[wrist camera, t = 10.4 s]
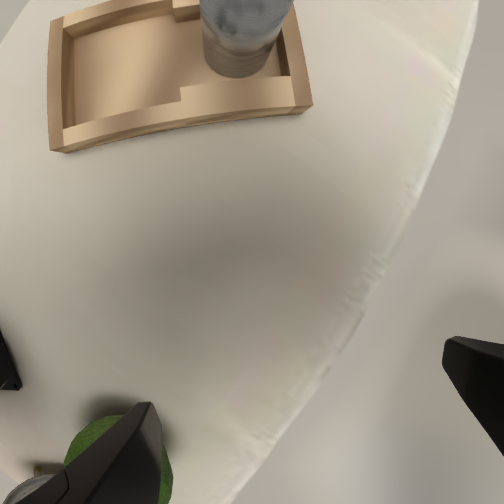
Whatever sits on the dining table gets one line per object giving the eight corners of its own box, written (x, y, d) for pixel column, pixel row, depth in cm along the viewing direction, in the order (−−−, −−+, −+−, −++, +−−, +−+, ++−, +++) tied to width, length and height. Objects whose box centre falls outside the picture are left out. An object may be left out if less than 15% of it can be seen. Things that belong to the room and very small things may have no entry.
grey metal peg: (206, 81, 17) (201, 17, 9) (200, 27, 16) (195, -51, 9) (273, 76, 18) (307, 13, 10) (264, 22, 17) (290, -53, 9)
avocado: (75, 434, 22) (33, 536, 10) (101, 378, 21) (45, 500, 9) (155, 472, 23) (143, 580, 12) (194, 424, 23) (191, 555, 11)
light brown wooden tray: (67, 153, 18) (49, 150, 15) (64, 34, 16) (50, 21, 13) (301, 113, 19) (312, 105, 16) (279, -3, 17) (287, -22, 14)
